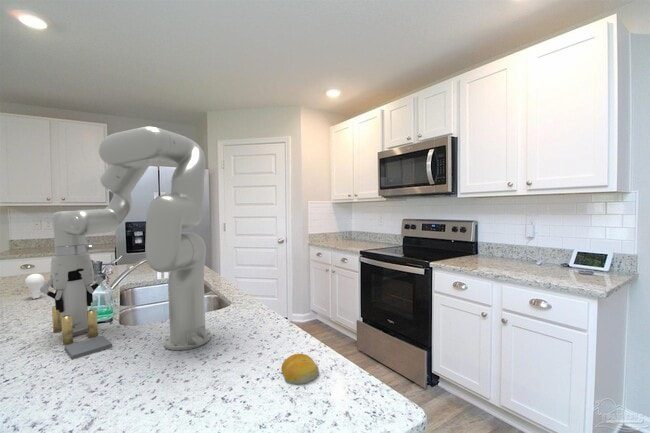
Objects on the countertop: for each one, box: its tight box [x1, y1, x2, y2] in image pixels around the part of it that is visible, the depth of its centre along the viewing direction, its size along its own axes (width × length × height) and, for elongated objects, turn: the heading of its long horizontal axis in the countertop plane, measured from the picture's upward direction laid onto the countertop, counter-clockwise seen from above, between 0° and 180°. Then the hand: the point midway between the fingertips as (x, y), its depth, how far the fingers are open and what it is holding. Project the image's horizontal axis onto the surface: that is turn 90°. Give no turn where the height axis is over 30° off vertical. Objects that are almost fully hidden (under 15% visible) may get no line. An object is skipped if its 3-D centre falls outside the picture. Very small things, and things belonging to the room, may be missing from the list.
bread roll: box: [280, 353, 319, 385], centre depth 73 cm, size 8×9×4 cm
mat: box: [63, 334, 113, 360], centre depth 88 cm, size 9×9×1 cm
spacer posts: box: [51, 305, 99, 346], centre depth 98 cm, size 16×8×8 cm, turn 49°
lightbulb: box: [24, 273, 45, 300], centre depth 136 cm, size 6×6×11 cm
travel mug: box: [61, 269, 89, 337], centre depth 98 cm, size 6×7×20 cm
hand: (75, 308), depth 98 cm, fingers closed on travel mug, 6 cm apart
